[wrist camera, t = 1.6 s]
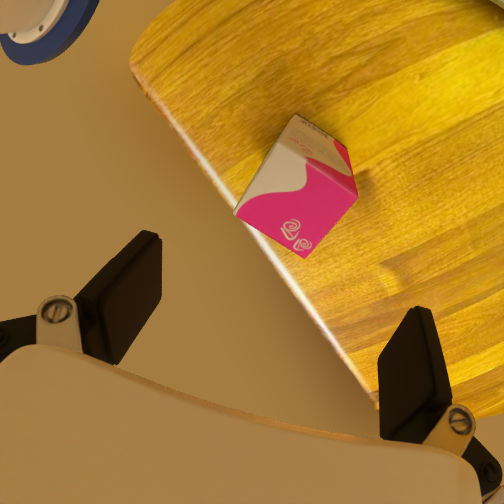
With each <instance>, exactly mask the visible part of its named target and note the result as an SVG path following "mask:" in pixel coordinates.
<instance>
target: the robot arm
mask: <svg viewBox="0 0 504 504" xmlns="http://www.w3.org/2000/svg"><path fill="white" fill-rule="evenodd" d="M69 1H70V0H0V34H5V33H8V35H9V37H10V38H11V39H12V40H13V41H15V42H16V43H20V44H24V43H32V42H35V41H37V40H39V39H41V38H42V37H44V36H45V35H46V34H47V33H48V32H49V31H50V30H51V29H52V28H53V27H54V26H55V25H56V23H57V22H58V21H59V19H60V18H61V16H62V14H63V13H64V11H65V9H66V7H67V5H68V3H69ZM161 296H162V239H160V238H159V236H158V234H157V233H153V232H150V231H146V230H142V231H141V232H140V233H139V234H138V235H137V236H136V237H135V238H134V239H132V240H131V242H129V243H128V244H127V245H126V246H125V247H124V248H123V249H122V250H121V251H120V252H119V253H118V254H117V255H116V256H115V257H114V258H112V259H111V260H110V261H109V262H108V263H107V264H106V265H105V266H104V267H103V268H102V269H101V270H100V271H99V272H98V273H97V274H96V275H95V276H94V277H93V278H92V280H90V281H89V283H87V285H86V286H85V287H84V288H83V289H82V290H81V291H80V292H79V293H78V294H77V295H76V296H75V297H74V298H73V299H72V298H70V297H68V296H64V295H56V296H52V297H49V298H47V299H46V300H44V301H43V302H42V303H41V304H40V306H39V307H38V310H37V314H36V315H31V316H26V317H21V318H16V319H12V320H6V321H1V322H0V504H504V485H503V486H501V485H500V483H501V481H502V469H501V466H500V464H499V462H498V461H497V460H496V459H495V458H494V457H493V456H492V455H491V454H490V453H489V451H487V449H486V448H485V447H484V446H483V445H482V444H481V443H480V442H479V441H478V440H477V439H476V438H475V437H474V436H473V435H474V432H475V429H476V422H475V418H474V416H473V414H472V413H471V411H470V410H469V409H468V408H466V407H465V406H463V405H460V404H453V405H452V400H451V399H452V398H453V397H452V392H451V387H450V382H449V378H448V373H447V369H446V364H445V360H444V356H443V352H442V348H441V344H440V340H439V337H438V333H437V330H436V326H435V323H434V319H433V316H432V312H431V310H430V309H428V308H424V307H420V306H415V307H414V308H413V309H412V308H411V309H409V311H408V312H407V314H406V315H405V317H404V319H403V320H402V322H401V323H400V325H399V326H398V328H397V330H396V331H395V333H394V334H393V336H392V337H391V339H390V340H389V342H388V343H387V345H386V346H385V348H384V349H383V351H382V352H381V354H380V355H379V358H378V363H377V365H378V383H379V415H380V437H381V438H383V440H380V439H374V438H367V437H366V438H365V437H359V436H352V435H346V434H340V433H334V432H329V431H323V430H318V429H313V428H308V427H303V426H298V425H294V424H289V423H285V422H281V421H276V420H272V419H268V418H264V417H260V416H257V415H253V414H249V413H245V412H242V411H238V410H235V409H231V408H228V407H225V406H222V405H218V404H215V403H212V402H208V401H206V400H202V399H199V398H196V397H194V396H190V395H188V394H185V393H182V392H179V391H176V390H174V389H171V388H168V387H165V386H163V385H160V384H157V383H155V382H152V381H150V380H147V379H145V378H142V377H140V376H137V375H135V374H132V373H130V372H127V371H125V370H122V369H120V368H117V367H115V366H113V365H114V364H115V365H118V364H119V363H120V361H121V360H122V358H123V356H124V355H125V353H126V352H127V350H128V349H129V347H130V346H131V344H132V343H133V341H134V340H135V338H136V336H137V335H138V334H139V332H140V331H141V329H142V327H143V326H144V325H145V323H146V322H147V320H148V319H149V317H150V315H151V314H152V312H153V311H154V310H155V308H156V307H157V305H158V304H159V302H160V300H161Z"/></svg>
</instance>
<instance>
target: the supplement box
mask: <svg viewBox="0 0 504 504" xmlns="http://www.w3.org/2000/svg"><path fill="white" fill-rule="evenodd" d="M357 199H358V192H357V188H356V184H355V180H354V176H353V171H352V167H351V163H350V159H349V155H348V151H347V148H346V147H345V146H344V145H343V144H341V143H340V142H339V141H337V140H336V139H334V138H333V137H332V136H330V135H329V134H327V133H326V132H324V131H323V130H321V129H320V128H319V127H317V126H316V125H314V124H312V123H311V122H309V121H308V120H306V119H305V118H303V117H301V116H300V115H298V114H295V115H294V116H293V117H292V118H291V120H290V121H289V123H288V124H287V126H286V127H285V129H284V130H283V131H282V133H281V134H280V136H279V137H278V139H277V140H276V142H275V143H274V145H273V146H272V148H271V150H270V151H269V153H268V154H267V156H266V157H265V159H264V160H263V162H262V164H261V165H260V167H259V169H258V170H257V172H256V173H255V175H254V177H253V178H252V180H251V182H250V184H249V185H248V187H247V189H246V190H245V192H244V194H243V195H242V197H241V199H240V201H239V202H238V204H237V206H236V207H235V209H234V211H233V214H234V215H235V216H237V217H238V218H240V219H241V220H243V221H245V222H246V223H248V224H249V225H251V226H253V227H254V228H256V229H257V230H259V231H261V232H262V233H264V234H266V235H267V236H269V237H270V238H272V239H274V240H275V241H277V242H278V243H280V244H282V245H283V246H285V247H286V248H288V249H290V250H291V251H293V252H294V253H296V254H297V255H299V256H301V257H302V258H304V259H305V258H306V257H307V256H308V255H309V254H310V253H311V252H312V251H313V249H314V248H315V247H316V246H317V245H318V244H319V242H320V241H321V240H322V239H323V238H324V237H325V235H326V234H327V233H328V232H329V231H330V230H331V229H332V228H333V226H334V225H335V224H336V223H337V222H338V221H339V220H340V218H341V217H342V216H343V215H344V214H345V213H346V212H347V210H348V209H349V208H350V207H351V206H352V205H353V204H354V202H355V201H356V200H357Z"/></svg>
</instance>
